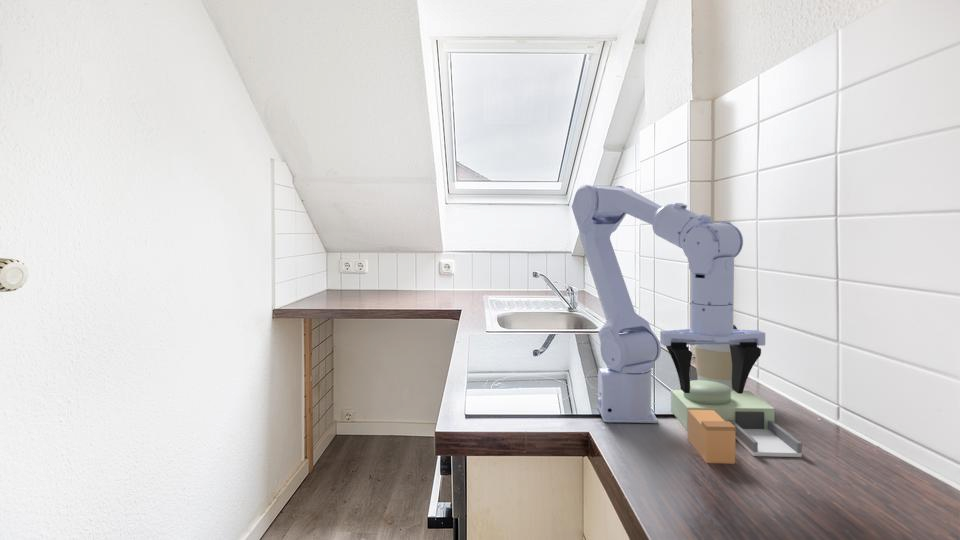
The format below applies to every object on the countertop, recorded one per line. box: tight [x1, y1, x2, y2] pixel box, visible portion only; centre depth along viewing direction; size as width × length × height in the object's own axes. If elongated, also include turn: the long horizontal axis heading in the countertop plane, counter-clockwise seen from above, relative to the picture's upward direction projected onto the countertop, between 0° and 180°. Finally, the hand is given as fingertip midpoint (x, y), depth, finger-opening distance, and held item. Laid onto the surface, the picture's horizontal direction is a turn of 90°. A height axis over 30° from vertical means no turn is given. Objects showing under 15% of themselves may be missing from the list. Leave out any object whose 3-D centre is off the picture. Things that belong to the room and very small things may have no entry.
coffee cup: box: [694, 324, 739, 391], centre depth 95 cm, size 9×9×15 cm
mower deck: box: [670, 379, 803, 458], centre depth 78 cm, size 14×18×6 cm
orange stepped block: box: [687, 410, 736, 464], centre depth 71 cm, size 4×8×6 cm, turn 174°
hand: (711, 391), depth 71 cm, fingers open, 7 cm apart
